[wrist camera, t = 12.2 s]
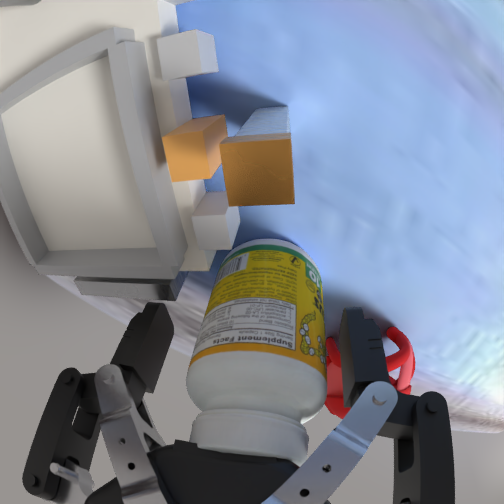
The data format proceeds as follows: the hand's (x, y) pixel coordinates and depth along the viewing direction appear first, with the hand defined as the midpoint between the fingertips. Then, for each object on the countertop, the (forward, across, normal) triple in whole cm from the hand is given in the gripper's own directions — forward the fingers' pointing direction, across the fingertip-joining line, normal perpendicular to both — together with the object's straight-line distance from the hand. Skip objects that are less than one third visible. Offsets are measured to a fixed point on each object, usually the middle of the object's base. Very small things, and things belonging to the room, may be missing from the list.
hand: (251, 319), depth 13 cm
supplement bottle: (+4, -1, 0) cm, 4 cm away
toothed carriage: (+2, +6, -10) cm, 12 cm away
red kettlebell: (+4, -7, +7) cm, 10 cm away
